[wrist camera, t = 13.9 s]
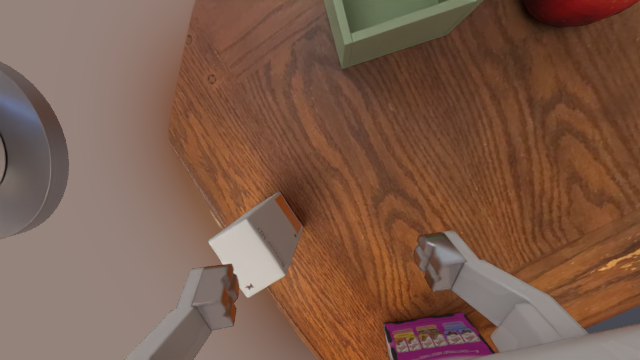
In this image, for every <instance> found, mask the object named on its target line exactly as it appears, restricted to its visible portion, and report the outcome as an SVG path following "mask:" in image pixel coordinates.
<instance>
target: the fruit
mask: <svg viewBox="0 0 640 360" xmlns="http://www.w3.org/2000/svg"><path fill="white" fill-rule="evenodd" d="M638 1H639V0H523V2H524V5H525V7H526V8H527V10H528V11H529V13H530V14H531V15H532V16H533V17H534V18H536V19H537V20H538V21H540V22H542V23H545V24H549V25H552V26H556V27H568V26H583V25H587V24H591V23H594V22H596V21H599V20H602V19H604V18H607V17H610V16H612V15H615V14H617V13H620V12H621V11H623V10H625V9H627V8H629V7H630V6H632V5H633V4H635V3H636V2H638Z"/></svg>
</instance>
